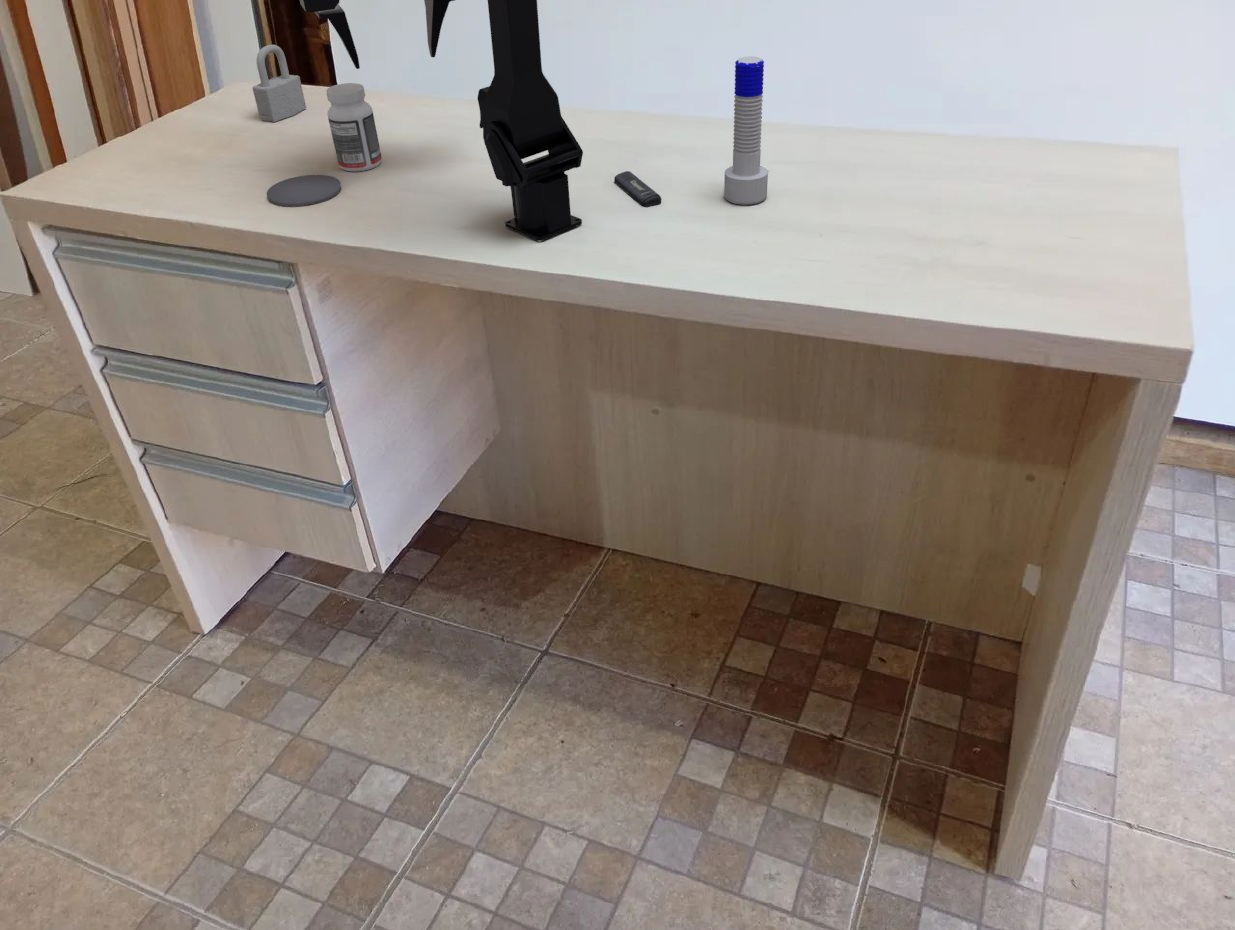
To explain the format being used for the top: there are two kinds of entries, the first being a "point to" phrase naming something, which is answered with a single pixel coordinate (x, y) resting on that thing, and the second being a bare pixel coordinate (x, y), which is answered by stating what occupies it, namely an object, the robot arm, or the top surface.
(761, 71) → the bolt
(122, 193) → the top surface
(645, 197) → the usb stick
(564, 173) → the robot arm
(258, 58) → the padlock
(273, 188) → the coaster
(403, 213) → the top surface
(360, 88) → the pill bottle
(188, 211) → the top surface
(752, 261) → the top surface
